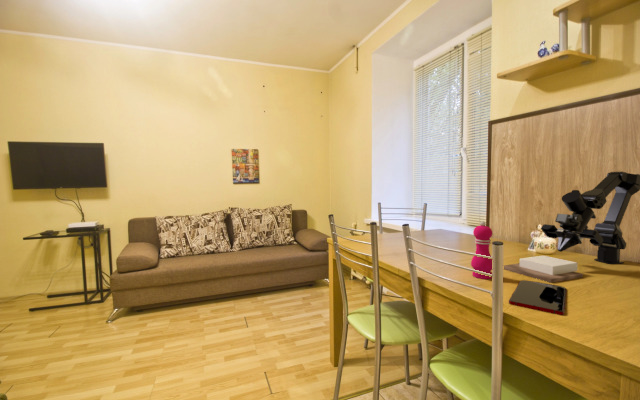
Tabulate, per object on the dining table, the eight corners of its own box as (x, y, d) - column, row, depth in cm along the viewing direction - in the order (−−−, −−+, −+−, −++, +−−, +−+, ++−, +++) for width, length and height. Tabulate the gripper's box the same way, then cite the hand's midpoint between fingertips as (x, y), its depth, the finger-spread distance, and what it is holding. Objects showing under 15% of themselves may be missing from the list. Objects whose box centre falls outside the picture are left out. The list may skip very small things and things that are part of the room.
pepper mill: (473, 272, 112) (474, 219, 111) (495, 275, 108) (496, 220, 107) (468, 277, 107) (469, 221, 106) (491, 281, 102) (492, 223, 101)
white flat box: (543, 255, 119) (519, 258, 115) (577, 262, 108) (552, 266, 104) (543, 262, 119) (519, 266, 115) (577, 270, 108) (552, 275, 104)
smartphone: (566, 286, 94) (564, 312, 75) (566, 291, 94) (564, 318, 75) (520, 278, 102) (507, 300, 83) (520, 283, 102) (507, 305, 83)
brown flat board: (531, 264, 122) (531, 261, 122) (582, 277, 105) (582, 273, 105) (502, 268, 117) (502, 265, 116) (551, 282, 100) (551, 279, 99)
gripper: (544, 204, 123) (524, 233, 120) (598, 207, 105) (577, 241, 102) (557, 222, 126) (538, 250, 123) (612, 228, 108) (592, 261, 106)
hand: (559, 250), depth 113 cm, fingers closed
